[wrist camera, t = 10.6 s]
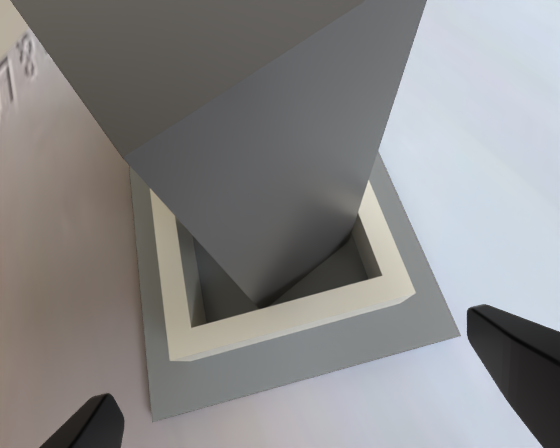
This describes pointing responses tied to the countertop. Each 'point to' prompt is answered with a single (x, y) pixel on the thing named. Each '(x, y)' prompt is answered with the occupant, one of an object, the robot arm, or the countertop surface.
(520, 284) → the countertop surface
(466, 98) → the countertop surface
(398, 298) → the socket board
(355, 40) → the plug
